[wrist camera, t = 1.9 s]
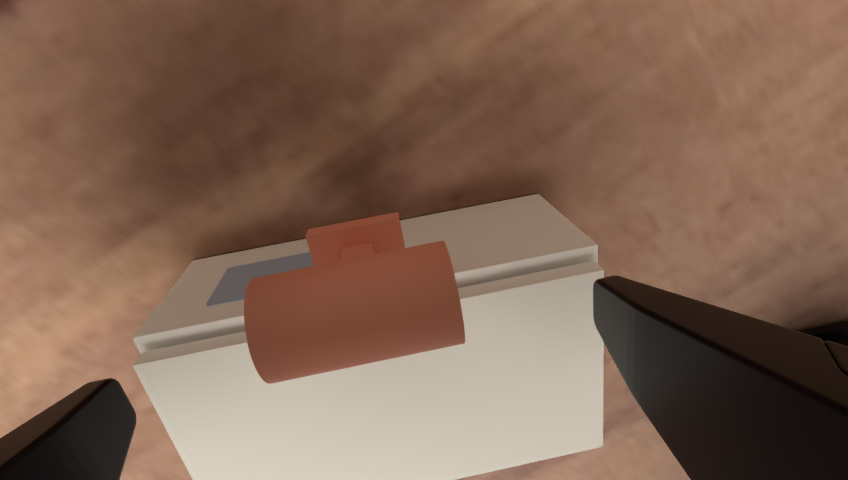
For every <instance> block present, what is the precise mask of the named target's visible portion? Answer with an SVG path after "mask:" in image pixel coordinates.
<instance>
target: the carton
mask: <svg viewBox="0 0 848 480" xmlns="http://www.w3.org/2000/svg"><path fill="white" fill-rule="evenodd" d="M400 223H401V228H402V233H403V239H404V244H405V248H408V247H413V246H418V245H423V244H428V243H433V242H438V241H444V242H445V244H446V247H447V250H448V253H449V256H450V259H451V263H452V267H453V271H454V275H455V279H456V284H457V288H462V287H467V286H471V285H476V284H481V283H486V282H491V281H496V280H501V279H506V278H511V277H516V276H521V275H526V274H531V273H536V272H541V271H546V270H551V269H556V268H561V267H566V266H571V265H576V264H580V263H585V262H590V261H595V262H596V263H597V264H598V244H596V243H595V242H594V241H593V240H592V239H591V238H589V237H588V236H587V235H586V234H585V233H584V232H582V231H581V230H580V229H579V228H578V227H577V226H575V225H574V224H573V223H572V222H571V221H570V220H568V219H567V218H566V217H565V216H564V215H563V214H561V213H560V212H559V211H558V210H557V209H556V208H554V207H553V206H552V205H551V204H550V203H549V202H547V201H546V200H545V199H544V198H543V197H542V196H540V195H539V194H534V195H529V196H524V197H519V198H514V199H508V200H503V201H498V202H493V203H488V204H483V205H477V206H472V207H467V208H462V209H457V210H452V211H446V212H441V213H436V214H431V215H426V216H421V217H415V218H410V219H405V220H400ZM311 266H314V264H313V261H312V257H311V254H310V250H309V247H308V244H307V240H306V239H301V240H296V241H291V242H286V243H281V244H276V245H270V246H265V247H260V248H255V249H250V250H245V251H239V252H234V253H229V254H224V255H219V256H213V257H208V258H203V259H198V260H193V261H192V262H191V263H190V265H189V266H188V267H187V268H186V270H185V271H184V272H183V274H182V275H181V276H180V277H179V279H178V280H177V281H176V282H175V284H174V285H173V286H172V288H171V289H170V290H169V291H168V293H167V294H166V295H165V297H164V298H163V299H162V300H161V302H160V303H159V304H158V306H157V307H156V308H155V309H154V311H153V312H152V313H151V314H150V316H149V317H148V318H147V320H146V321H145V322H144V323H143V325H142V326H141V327H140V329H139V330H138V331H137V332H136V334H135V335H134V336H133V340H134V342H135V344H136V346H137V348H138V350H139V352H140V354H141V353H142V352H145V351H150V350H154V349H159V348H164V347H169V346H174V345H179V344H184V343H189V342H194V341H199V340H204V339H209V338H214V337H219V336H224V335H229V334H234V333H239V332H244V331H245V324H244V299H245V293H246V289H247V286H248V284H249V282H250V280H251V279H253V278H255V277H260V276H265V275H270V274H275V273H280V272H286V271H291V270H296V269H301V268H306V267H311Z"/></svg>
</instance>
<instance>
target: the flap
mask: <svg viewBox="0 0 848 480" xmlns="http://www.w3.org/2000/svg"><path fill="white" fill-rule="evenodd" d="M306 240H307V244H308V247H309V250H310V254H311V257H312V261H313V264H314V266H311V267H306V268H301V269H296V270H291V271H286V272H280V273H275V274H270V275H265V276H260V277H255V278H253V279H251V280H250V282H249V284H248V286H247V289H246V293H245V299H244V324H245V331H244V332H239V333H234V334H229V335H224V336H219V337H214V338H209V339H204V340H199V341H194V342H189V343H184V344H179V345H174V346H169V347H164V348H159V349H154V350H150V351H145V352H142V353H141V354H140V356H139V357H138V359H137V360H136V361H135V363H134V364H133V368H134V370H135V372H136V373H137V375H138V377H139V379H140V381H141V383H142V385H143V387H144V389H145V390H146V392H147V394H148V396H149V398H150V400H151V402H152V404H153V406H154V407H155V409H156V411H157V413H158V415H159V417H160V419H161V421H162V423H163V424H164V426H165V428H166V430H167V432H168V434H169V436H170V438H171V440H172V441H173V443H174V445H175V447H176V449H177V451H178V453H179V455H180V457H181V458H182V460H183V462H184V464H185V466H186V468H187V470H188V472H189V474H190V475H191V477H192V479H193V480H456V479H460V478H465V477H469V476H474V475H478V474H483V473H487V472H492V471H496V470H501V469H505V468H509V467H514V466H518V465H523V464H527V463H532V462H536V461H541V460H545V459H550V458H554V457H559V456H563V455H568V454H572V453H577V452H581V451H586V450H590V449H595V448H599V447H603V362H604V341H603V340H602V338H601V336H600V334H599V332H598V330H597V328H596V326H595V323H594V318H593V285H594V282H595V281H596V280H597V279H600V278H604V269H603V268H601V267H600V266H599V265H598V264H597V263H596V262H595V261H590V262H585V263H580V264H576V265H571V266H566V267H561V268H556V269H551V270H546V271H541V272H536V273H531V274H526V275H521V276H516V277H511V278H506V279H501V280H496V281H491V282H486V283H481V284H476V285H471V286H467V287H462V288H457V284H456V279H455V275H454V271H453V267H452V263H451V259H450V256H449V253H448V250H447V247H446V244H445V242H444V241H438V242H433V243H428V244H423V245H418V246H413V247H408V248H405V244H404V239H403V233H402V228H401V223H400V218H399V213H398V212H395V213H389V214H384V215H379V216H374V217H369V218H363V219H358V220H353V221H348V222H343V223H337V224H332V225H327V226H322V227H317V228H311V229H308V230H307V233H306Z"/></svg>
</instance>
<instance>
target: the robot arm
mask: <svg viewBox="0 0 848 480" xmlns="http://www.w3.org/2000/svg"><path fill="white" fill-rule="evenodd" d="M593 318H594V323H595V326H596V328H597V330H598V332H599V334H600V336H601V338H602V340H603V341H604V343H605V345H606V347H607V349H608V351H609V353H610V354H611V356H612V358H613V360H614V362H615V364H616V366H617V368H618V369H619V371H620V373H621V375H622V377H623V379H624V381H625V382H626V384H627V386H628V388H629V389H630V391H631V393H632V395H633V396H634V398H635V399H636V401H637V402H638V404H639V405H640V407H641V408H642V410H643V411H644V413H645V414H646V415H647V417H648V418H649V420H650V421H651V423H652V424H653V426H654V427H655V428H656V430H657V431H658V433H659V434H660V436H661V437H662V439H663V440H664V442H665V443H666V444H667V446H668V447H669V449H670V450H671V452H672V453H673V455H674V456H675V457H676V459H677V460H678V462H679V463H680V465H681V466H682V468H683V469H684V470H685V472H686V473H687V475H688V476H689V478H690V479H691V480H848V321H846V322H841V323H837V324H832V325H827V326H823V327H818V328H813V329H809V330H804V331H799V332H798V331H795V330H792V329H788V328H785V327H782V326H779V325H775V324H772V323H769V322H766V321H762V320H759V319H756V318H753V317H749V316H746V315H743V314H740V313H736V312H733V311H730V310H727V309H723V308H720V307H717V306H714V305H711V304H707V303H704V302H701V301H698V300H694V299H691V298H688V297H685V296H681V295H678V294H675V293H672V292H668V291H665V290H662V289H659V288H655V287H652V286H649V285H646V284H642V283H639V282H636V281H633V280H629V279H626V278H623V277H620V276H610V277H605V278H600V279H597V280H596V281H595V282H594V285H593ZM135 426H136V413H135V410H134V408H133V407H132V405H131V403H130V401H129V399H128V398H127V396H126V394H125V392H124V390H123V389H122V387H121V385H120V383H119V382H118V381H117V380H115V379H112V378H109V379H103V380H98V381H94V382H90V383H87V384H85V385H84V386H82V387H81V388H79V389H77V390H76V391H74V392H73V393H71V394H69V395H68V396H66V397H65V398H63V399H62V400H60V401H58V402H57V403H55V404H54V405H52V406H51V407H49V408H47V409H46V410H44V411H43V412H41V413H40V414H38V415H36V416H35V417H33V418H32V419H30V420H29V421H27V422H25V423H24V424H22V425H21V426H19V427H18V428H16V429H14V430H13V431H11V432H10V433H8V434H6V435H5V436H3V437H2V438H0V480H120V476H121V473H122V470H123V466H124V463H125V460H126V456H127V453H128V450H129V446H130V443H131V439H132V436H133V433H134V429H135Z"/></svg>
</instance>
